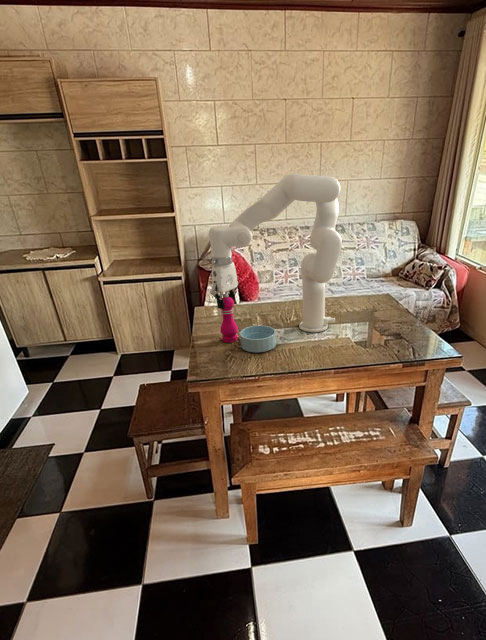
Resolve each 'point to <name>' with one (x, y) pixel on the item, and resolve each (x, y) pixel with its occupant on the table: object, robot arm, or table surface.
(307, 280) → the robot arm
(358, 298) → the table surface
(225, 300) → the pepper mill
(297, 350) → the table surface
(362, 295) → the table surface
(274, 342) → the bowl
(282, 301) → the table surface
